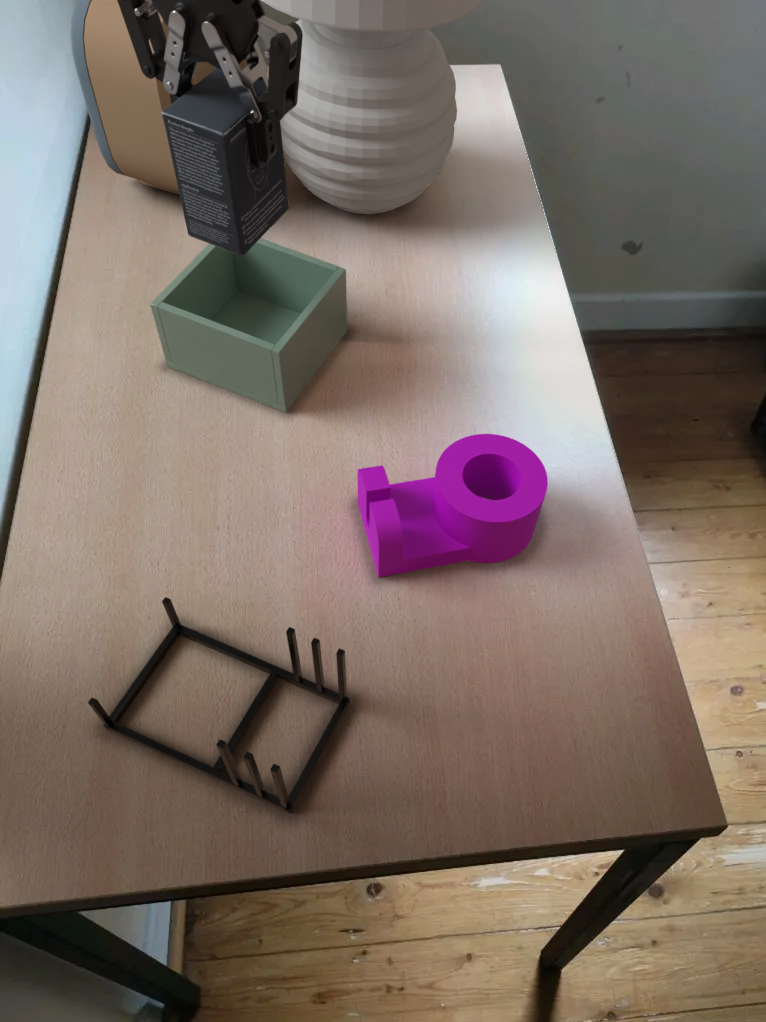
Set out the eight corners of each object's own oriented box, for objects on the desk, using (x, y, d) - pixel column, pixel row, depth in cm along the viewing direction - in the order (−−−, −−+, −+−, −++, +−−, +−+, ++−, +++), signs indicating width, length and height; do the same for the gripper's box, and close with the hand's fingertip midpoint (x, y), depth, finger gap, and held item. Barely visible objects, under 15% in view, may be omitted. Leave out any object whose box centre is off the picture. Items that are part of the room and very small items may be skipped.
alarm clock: (193, 115, 105) (156, -91, 87) (261, 134, 104) (238, -70, 86) (111, 201, 95) (49, -13, 76) (185, 222, 94) (141, 12, 75)
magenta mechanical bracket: (516, 471, 79) (527, 426, 74) (549, 552, 74) (563, 511, 69) (356, 497, 76) (355, 452, 70) (380, 584, 71) (381, 543, 66)
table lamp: (252, 246, 93) (185, -241, 59) (269, 124, 106) (223, -334, 71) (469, 258, 95) (527, -203, 61) (460, 137, 108) (504, -299, 74)
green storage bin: (167, 366, 82) (149, 303, 75) (236, 289, 89) (226, 225, 82) (286, 413, 80) (278, 352, 73) (347, 330, 87) (346, 268, 80)
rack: (105, 728, 62) (68, 679, 54) (177, 626, 67) (153, 567, 59) (290, 814, 60) (279, 774, 52) (350, 702, 65) (348, 651, 57)
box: (235, 190, 73) (217, 63, 64) (290, 211, 72) (280, 85, 63) (185, 236, 69) (158, 109, 60) (243, 259, 68) (224, 133, 59)
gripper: (53, -127, 49) (123, 146, 64) (260, -64, 47) (284, 203, 62) (125, -163, 53) (176, 102, 68) (320, -106, 51) (330, 155, 66)
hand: (228, 149), depth 65 cm, fingers closed on box, 5 cm apart
